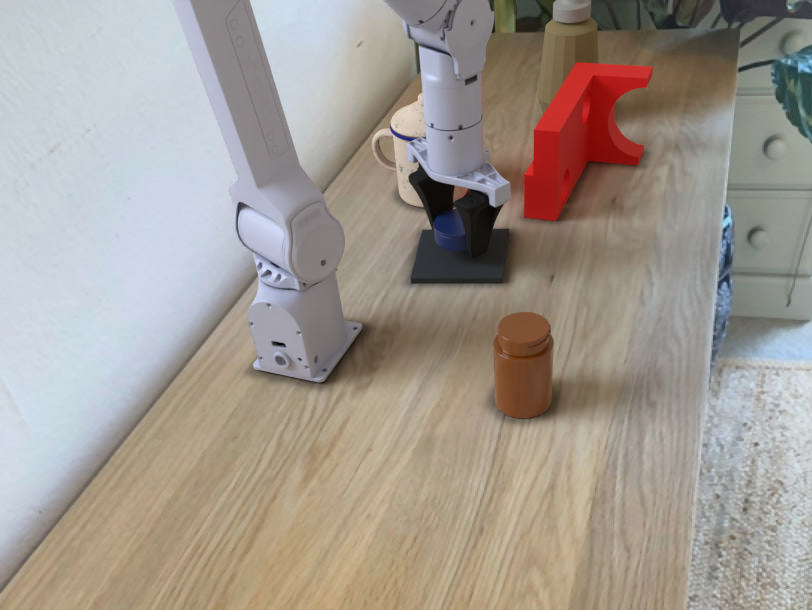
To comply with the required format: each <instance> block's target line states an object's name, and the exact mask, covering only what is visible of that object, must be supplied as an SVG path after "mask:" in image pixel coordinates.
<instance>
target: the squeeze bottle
mask: <svg viewBox="0 0 812 610" xmlns="http://www.w3.org/2000/svg"><path fill="white" fill-rule="evenodd" d="M552 3H553V4H552V19H551V20H550V21H549V22H547V23H546V24H545V27H544V35H543V45H542V52H541V53H542V55H541V64H540V72H539V80H538V89H537V99H538V102H539V103H538V104H539V106H540V109H541V112H542V115H543V114H544V113H545V111H546V110H547V108H548V107H549V105H550V103H551V102H552V100H553V99H554V97H555V95H556V94H557V92H558V91H559V89H560V88H561V86H562V84H563V83H564V81H565V80H566V78H567V77H568V75H569V73H570V72H571V70H572V69H573V67H574V65H575V64H576V62H579V63H597V64H599V33H598V30H599V29H598V22H597V21H596V20H595V19H594V18H593V17H592V16H591V14H592V13H591V12H592V0H555V1H553V2H552Z"/></svg>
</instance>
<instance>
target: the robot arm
mask: <svg viewBox="0 0 812 610" xmlns="http://www.w3.org/2000/svg"><path fill="white" fill-rule="evenodd" d="M382 1H383V3H385V5H387V6H388V7H389V8H390V9H391V11H393V12H394V13H395V14H396V15H397V16H398V17H399V18H400V19H401V24H402V29H403V32H404V34H405V37H406V38H407V39H408V40H412V41H413V42H414V43H417V44H419V45H418V54H419V66H420V68H419V69H420V77H421V91H422V92H423V104H424V117H425V130H426V139H424V138H422V137H420V138H417V139H415V140H413V141H410V142H408V143H406V146H407V156H408V161H410V162H412V163H416V162H418V161H419V162H418V164H419V167H418V168H417V171H415V172H413V173H411V174H410V175H409V176H408V179H409V183H410V184H411V185H412V187H413V188H414V189H415V191H416V193H417V194H418V196H419V198H420V200H421V202H422V204H423V206H424V208H423V209H424V211H425V214H426V217H427V219H428V222H429V225H430V228H431V229H432V231H433V233H434V226H433V223H434V220H435V218H436V217H437V216H438V215H440V214H441V213H443V212H445V211H448V210H451V209H454V207H455V209H457V210H458V212H459V214H460V217H461V219H462V222H463V226H464V230H465V236H466V244H467V250H468V253H469V256H470V257H472V258H476V257H478V256H480V255H482V254H484V253H486V252H487V250H488V246H489V242H490V238H491V234H492V230H493V229H494V227H495V224H496V221H497V219H498V216H499V214H500V212H501V211H502V208H503V207H504V205H505V204H506V203H507V202H510V201H511V181H510V180H507V179H506V178H504V177H503V176H502V175H501V174H500V173H499V172H498V170H497V168H495V166H493V164H492V163H491V162H490V161H489V159H491V156H492V155H491V154H492V153H491V150H490V149H489V148H486V147H484V113H483V111H484V110H483V77H482V74H483V73H482V71H484V69H485V68H484V67H485V64H487V56H486V54H487V53H486V52H487V47H488V42H489V40H490V38H491V35H492V32H493V29H494V24H495V16H496V15H495V11H494V10H492V9H491V6H490V2H489V0H382ZM171 2H172V6H173V8H174V11H175V14H176V16H177V18H178V21H179V24H180V26H181V29H182V32H183V34H184V35H183V36H184V37H185V41H186V43H187V45H188V48H189V50H190V53H191V56H192V59H193V61H194V64H195V66H196V67H195V68H196V69H197V72H198V75H199V77H200V80H201V82H202V85H203V88H204V92H205V94H206V97H207V100H208V102H209V105H210V107H211V110H212V112H213V115H214V117H215V120H216V123H217V127H218V128H219V131H220V133H221V136H222V139H223V142H224V144H225V147H226V150H227V153H228V155H229V159H230V161H231V163H232V165H233V168H234V171H235V174H236V177H234V179H233V180H232V182H231V183H230V185H229V186H228V189H227V190H228V193H229V196H230V199H231V203H232V229H233V233H234V235H235V238H236V239H237V240H238V242H239V244H241V245H242V246H243V247H244V248H245V249H248V250H250V251H251V253H252V257H253V260H254V264H255V266H256V271H257V276H258V278H257V279H258V286H257V290H256V294H255V296H254V299H253V301H252V303H251V305H250V306H249V308H248V311H247V315H246V316H247V317H246V320H247V325H248V329H249V331H250V335H251V338H252V342H253V344H254V349H255V352H256V357H257V358H256V359H255V361H254V362H253V363H252V367H253V369H254V370H257V371H262V372H267V373H272V374H276V375H282V376H285V377H290V378H294V379H295V378H296V379H300V380H305V381H310V382H314V383H319V384H320V383H323V382H325V381H326V380H327V378H328V377H329V376H330V374H331V373H332V371H333V370H334V369H335V368H336V366H337V365H338V363H339V362H340V360H341V359H342V358H343V356H344V355H345V353H346V352H347V351H348V349H349V348H350V347H351V346H352V344H353V343H354V341H355V340H356V338H357V337H358V336H359V334H360V333H361V331H362V330H363V324H362V323H361V322H356V321H352V320H345V317H344V313H343V307H342V306H343V305H342V301H341V294H340V289H339V284H338V283H339V282H338V278H337V271H338V266H339V264H340V263H341V261H342V259H343V255H344V252H345V246H346V236H345V235H346V234H345V231H344V227H343V225H342V223H341V222H340V221H339V220H338V218H336V216H334V215H333V214H332V213H331V212H330V210H329V208H328V205H327V203H326V199H325V196H324V194H323V193H322V192H321V190H320V189H319V188H318V186H317V185H316V183H315V182H314V181H313V180H312V179H311V177H310V176H309V175H308V173H307V172H306V171H305V170H304V169H303V167H302V166H301V163H300V160H299V157H298V154H297V149H296V147H295V144H294V140H293V136H292V133H291V131H290V128H289V124H288V121H287V118H286V115H285V111H284V107H283V104H282V102H281V98H280V95H279V91H278V87H277V84H276V81H275V78H274V75H273V72H272V69H271V66H270V62H269V59H268V55H267V53H266V49H265V46H264V42H263V39H262V35H261V32H260V30H259V26H258V23H257V20H256V16H255V13H254V10H253V7H252V4H251V0H171ZM422 92H421V93H422ZM455 186H459V187H464V188H468V190H469V193H468V194H465V195H464V196H463V197H462V198H460V199H458V200H456V201H454V203H453V196H454V188H455Z"/></svg>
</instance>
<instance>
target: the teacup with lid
mask: <svg viewBox="0 0 812 610" xmlns="http://www.w3.org/2000/svg"><path fill="white" fill-rule="evenodd" d="M389 123H390V124H389V128H387V127H385V128H382V129H380V130H378V131H377V132H376V133H375V134H374V135H373V137H372V140H371V148H372V153H373V155H374V157H375V160H376V161H377V162H378V163H379V165H380V166H381V167H383V168H384V169H386V170H388V171H391V172H395V173H396V177H397V186H398V193H399V196H400V199H402V200H403V201H404V202H405V203H407V205H410V206H413V207H417V208H423V209H425V208H424V206H423V204H422V202H421V200H420V198H419V196H418V194H417V193H416V191H415V189H414V188H413V187H412V185H411V184H410V183H409V179H408V176H409V175H410V174H411V173H413V172H415V171H417V168H418V167H419V164H418V162H419V161H418V162H416V163H412V162H410V161H408V156H407V146H406V143H408V142H410V141H413V140H415V139H417V138H420V137H422V138H424V139H426V130H425V117H424V104H423V92H420V93H419V94H418V96H417V100H416V101H414V102H413V103H412V102H411V103H410V104H407V105H405V106H403V107H400V108H399V109H398V110H397V111H395V112H394V114H393V115H392V117H391V119H390V122H389ZM382 138H392V140H393V150H394V158H395V162H393V161H391V160H389V159H388V158H387V157H386V156H385V154H384V153H383V151H382V149H381V145H380V139H382ZM468 190H469V189H468V188H464V187H459V186H455V188H454V196H453V204H454V201H456V200H458V199H460V198H462V197H464V196H466V195H467V193H468Z"/></svg>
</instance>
